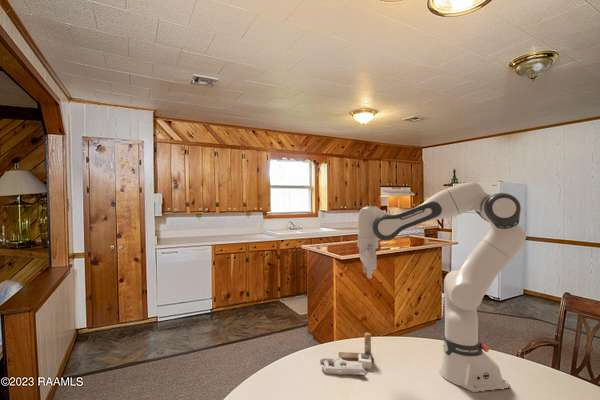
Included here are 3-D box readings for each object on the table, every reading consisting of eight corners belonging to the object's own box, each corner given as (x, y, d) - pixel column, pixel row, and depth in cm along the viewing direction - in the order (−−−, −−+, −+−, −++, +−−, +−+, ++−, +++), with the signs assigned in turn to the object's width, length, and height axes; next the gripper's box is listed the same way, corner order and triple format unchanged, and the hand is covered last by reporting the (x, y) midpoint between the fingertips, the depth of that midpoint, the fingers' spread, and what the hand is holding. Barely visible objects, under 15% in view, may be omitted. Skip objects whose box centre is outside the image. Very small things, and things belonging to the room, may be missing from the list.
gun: (365, 356, 117) (366, 370, 107) (365, 364, 117) (367, 379, 107) (320, 353, 120) (318, 367, 110) (321, 362, 120) (318, 376, 110)
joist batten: (371, 355, 124) (371, 353, 124) (373, 360, 120) (373, 358, 120) (338, 354, 125) (338, 352, 125) (339, 359, 121) (339, 357, 121)
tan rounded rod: (370, 353, 123) (370, 332, 123) (371, 357, 121) (371, 335, 121) (364, 353, 124) (364, 332, 124) (365, 357, 121) (365, 335, 121)
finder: (371, 362, 119) (371, 354, 119) (371, 369, 114) (371, 361, 114) (358, 361, 120) (358, 352, 120) (358, 367, 115) (358, 359, 115)
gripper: (380, 247, 115) (380, 281, 115) (370, 240, 136) (370, 269, 136) (364, 246, 116) (364, 281, 116) (357, 240, 136) (356, 269, 136)
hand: (367, 275), depth 126 cm, fingers open, 8 cm apart
